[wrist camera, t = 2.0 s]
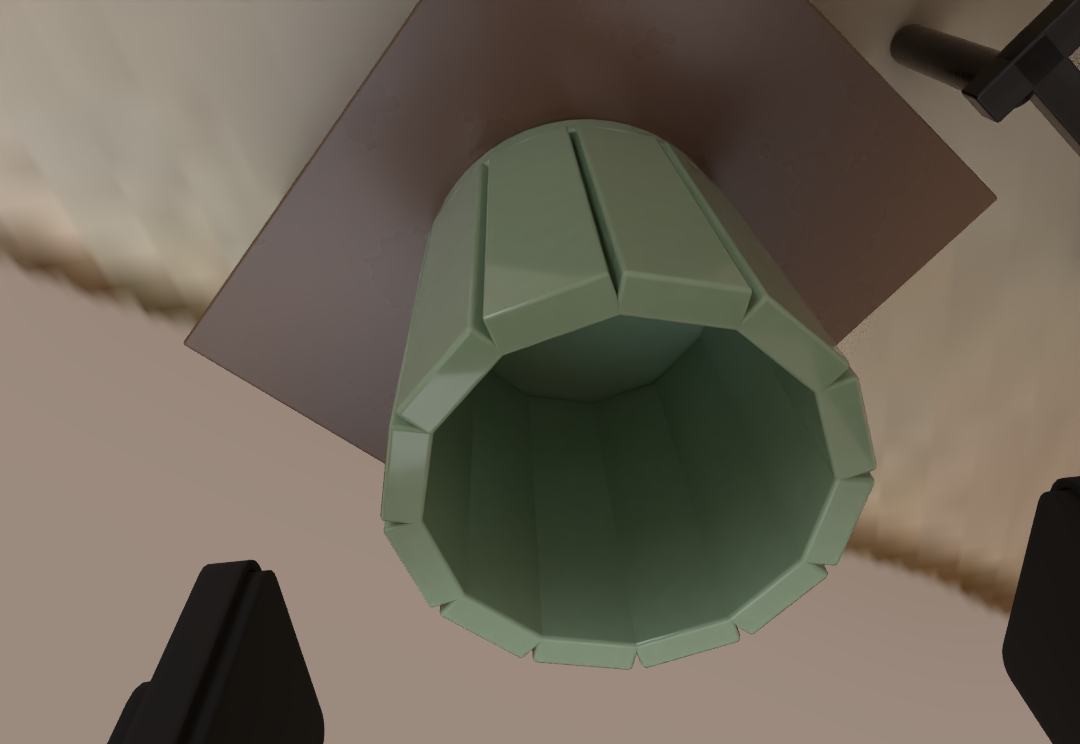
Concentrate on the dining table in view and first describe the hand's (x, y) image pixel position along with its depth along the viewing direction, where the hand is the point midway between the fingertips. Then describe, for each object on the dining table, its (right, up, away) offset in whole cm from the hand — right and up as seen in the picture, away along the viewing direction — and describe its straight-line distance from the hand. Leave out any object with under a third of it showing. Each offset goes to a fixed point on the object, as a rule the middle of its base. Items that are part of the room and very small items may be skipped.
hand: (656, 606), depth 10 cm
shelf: (-1, +10, +17) cm, 20 cm away
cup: (-1, +5, +8) cm, 10 cm away
